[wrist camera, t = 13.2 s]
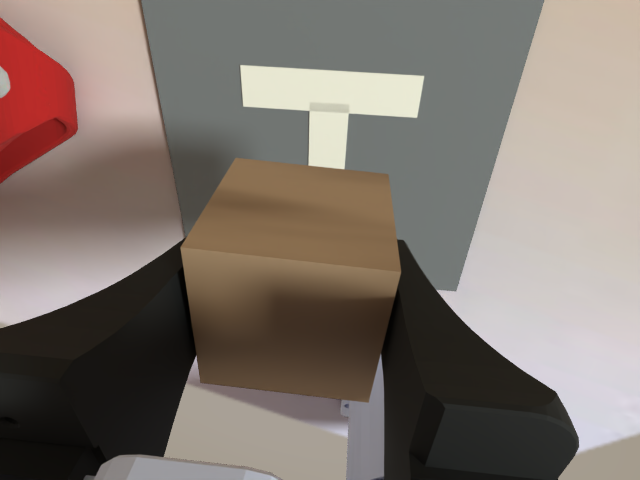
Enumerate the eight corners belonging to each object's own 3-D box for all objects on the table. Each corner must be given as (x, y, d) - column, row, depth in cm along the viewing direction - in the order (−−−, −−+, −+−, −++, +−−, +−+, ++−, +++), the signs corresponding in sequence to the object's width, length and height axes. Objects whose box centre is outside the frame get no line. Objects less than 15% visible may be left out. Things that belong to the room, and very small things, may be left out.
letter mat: (455, 289, 24) (456, 291, 24) (192, 265, 25) (191, 268, 25) (553, -36, 15) (555, -36, 15) (133, -54, 16) (130, -54, 16)
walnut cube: (366, 288, 16) (368, 402, 12) (240, 275, 16) (200, 382, 12) (388, 174, 13) (400, 271, 9) (235, 157, 13) (180, 247, 9)
